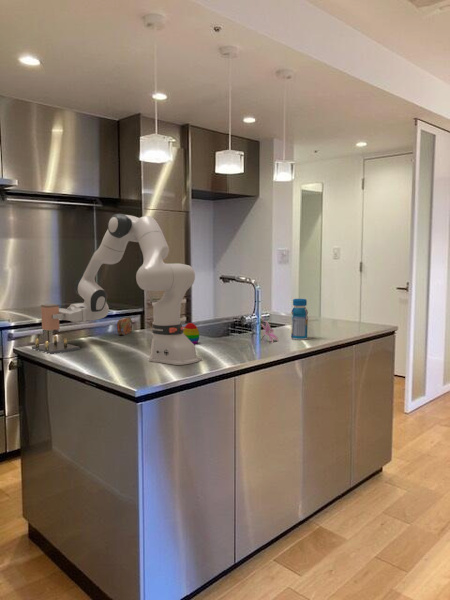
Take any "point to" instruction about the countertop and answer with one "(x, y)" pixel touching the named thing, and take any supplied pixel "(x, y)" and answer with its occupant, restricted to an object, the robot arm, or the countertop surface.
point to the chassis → (55, 346)
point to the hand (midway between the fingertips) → (48, 316)
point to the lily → (269, 332)
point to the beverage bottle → (299, 319)
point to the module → (49, 317)
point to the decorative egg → (191, 332)
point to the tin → (124, 326)
